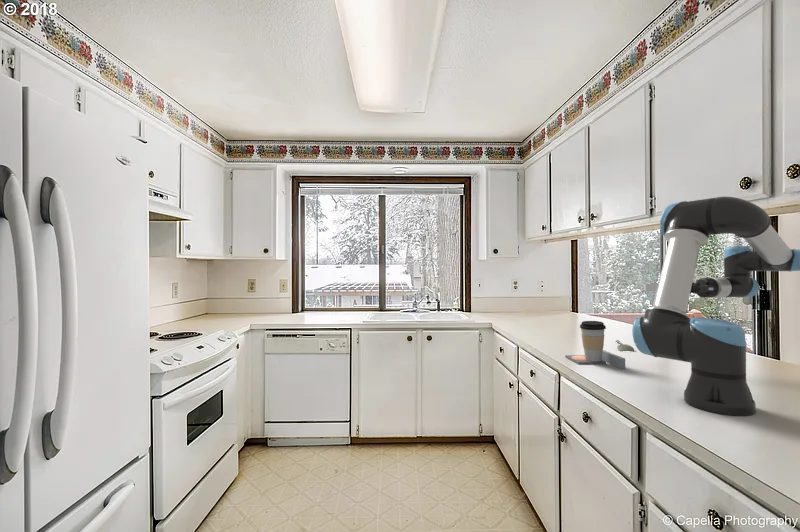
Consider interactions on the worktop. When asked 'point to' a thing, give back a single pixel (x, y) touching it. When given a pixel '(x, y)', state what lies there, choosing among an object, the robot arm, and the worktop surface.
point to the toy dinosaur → (624, 347)
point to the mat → (582, 359)
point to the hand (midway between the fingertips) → (656, 288)
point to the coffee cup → (593, 339)
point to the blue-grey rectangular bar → (613, 359)
